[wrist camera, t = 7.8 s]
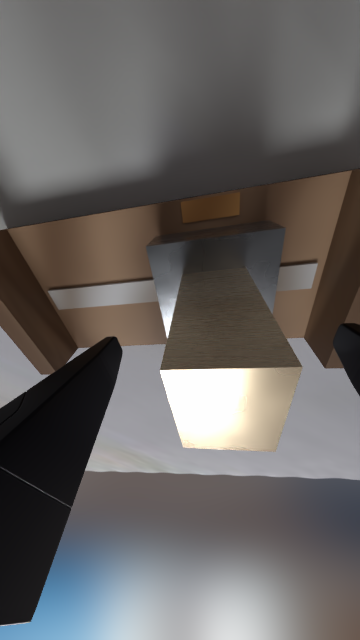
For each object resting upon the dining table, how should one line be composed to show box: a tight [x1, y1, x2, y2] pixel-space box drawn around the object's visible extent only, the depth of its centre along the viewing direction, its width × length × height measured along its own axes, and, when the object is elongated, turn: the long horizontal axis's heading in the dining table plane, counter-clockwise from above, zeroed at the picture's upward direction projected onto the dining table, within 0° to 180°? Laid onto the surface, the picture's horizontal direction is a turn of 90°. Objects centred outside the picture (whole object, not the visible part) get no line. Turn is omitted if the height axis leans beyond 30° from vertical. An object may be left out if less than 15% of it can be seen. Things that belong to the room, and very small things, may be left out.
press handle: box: [146, 220, 302, 452], centre depth 9 cm, size 6×7×8 cm
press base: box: [0, 169, 360, 374], centre depth 12 cm, size 22×10×4 cm, turn 98°
